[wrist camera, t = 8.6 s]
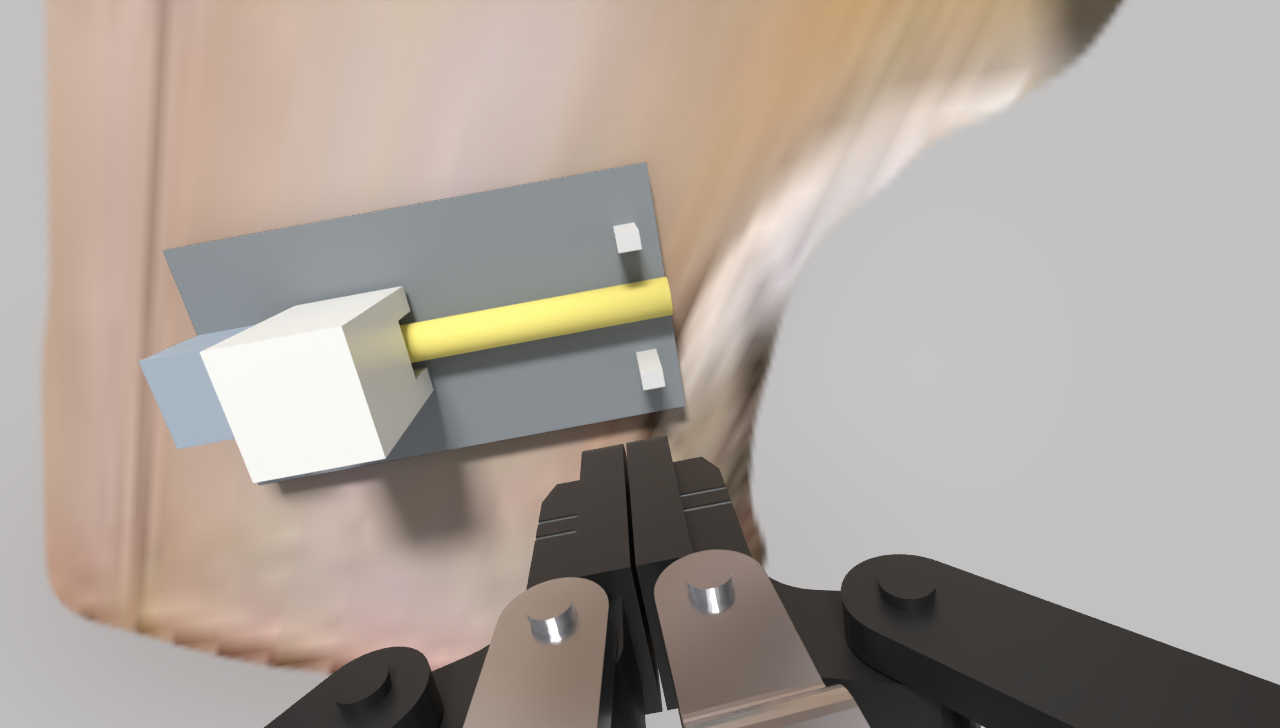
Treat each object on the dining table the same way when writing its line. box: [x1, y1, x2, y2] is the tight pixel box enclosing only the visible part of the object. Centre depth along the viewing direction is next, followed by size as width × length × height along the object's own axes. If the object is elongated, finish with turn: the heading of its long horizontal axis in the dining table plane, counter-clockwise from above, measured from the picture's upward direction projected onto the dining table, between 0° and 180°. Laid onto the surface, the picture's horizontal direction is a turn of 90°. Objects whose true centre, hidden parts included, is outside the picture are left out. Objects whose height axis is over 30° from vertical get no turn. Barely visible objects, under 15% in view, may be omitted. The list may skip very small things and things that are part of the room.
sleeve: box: [200, 286, 434, 483], centre depth 26 cm, size 5×5×7 cm
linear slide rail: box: [139, 162, 686, 485], centre depth 29 cm, size 22×12×5 cm, turn 100°
